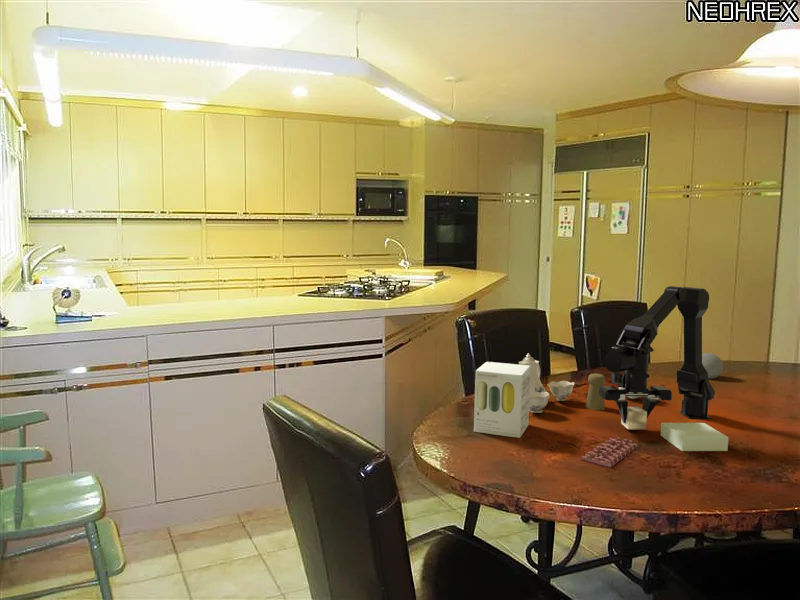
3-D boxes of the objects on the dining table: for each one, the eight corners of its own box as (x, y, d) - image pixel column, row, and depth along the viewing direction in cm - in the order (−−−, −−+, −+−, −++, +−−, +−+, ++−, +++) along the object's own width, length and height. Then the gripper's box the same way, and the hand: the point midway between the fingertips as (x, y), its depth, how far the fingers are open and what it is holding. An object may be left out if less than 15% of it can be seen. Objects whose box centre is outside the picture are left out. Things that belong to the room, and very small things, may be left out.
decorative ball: (699, 374, 247) (701, 349, 246) (726, 379, 240) (728, 353, 238) (688, 378, 240) (690, 352, 239) (715, 383, 233) (717, 356, 232)
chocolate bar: (637, 448, 163) (638, 441, 163) (610, 469, 149) (610, 461, 148) (610, 442, 168) (611, 435, 168) (581, 461, 153) (581, 454, 153)
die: (617, 401, 206) (619, 371, 205) (619, 395, 214) (620, 366, 213) (645, 404, 203) (647, 374, 201) (645, 398, 211) (647, 368, 210)
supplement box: (472, 432, 173) (474, 370, 171) (484, 418, 185) (485, 360, 183) (520, 438, 168) (522, 374, 166) (529, 424, 180) (531, 365, 178)
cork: (606, 411, 194) (608, 376, 193) (586, 410, 195) (587, 375, 194) (604, 406, 200) (605, 372, 199) (584, 404, 201) (586, 371, 200)
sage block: (703, 436, 173) (704, 422, 172) (727, 452, 161) (728, 437, 160) (660, 436, 172) (661, 422, 172) (681, 452, 160) (682, 437, 160)
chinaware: (547, 422, 183) (549, 366, 181) (495, 412, 192) (497, 358, 190) (578, 401, 206) (580, 351, 204) (530, 393, 215) (532, 345, 214)
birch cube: (638, 423, 178) (639, 406, 178) (645, 429, 173) (647, 411, 173) (621, 423, 178) (622, 406, 178) (628, 429, 173) (629, 411, 173)
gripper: (656, 362, 182) (653, 414, 184) (593, 362, 182) (590, 414, 183) (674, 371, 171) (671, 426, 173) (607, 370, 170) (604, 426, 172)
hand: (633, 422), depth 176 cm, fingers closed on birch cube, 5 cm apart
